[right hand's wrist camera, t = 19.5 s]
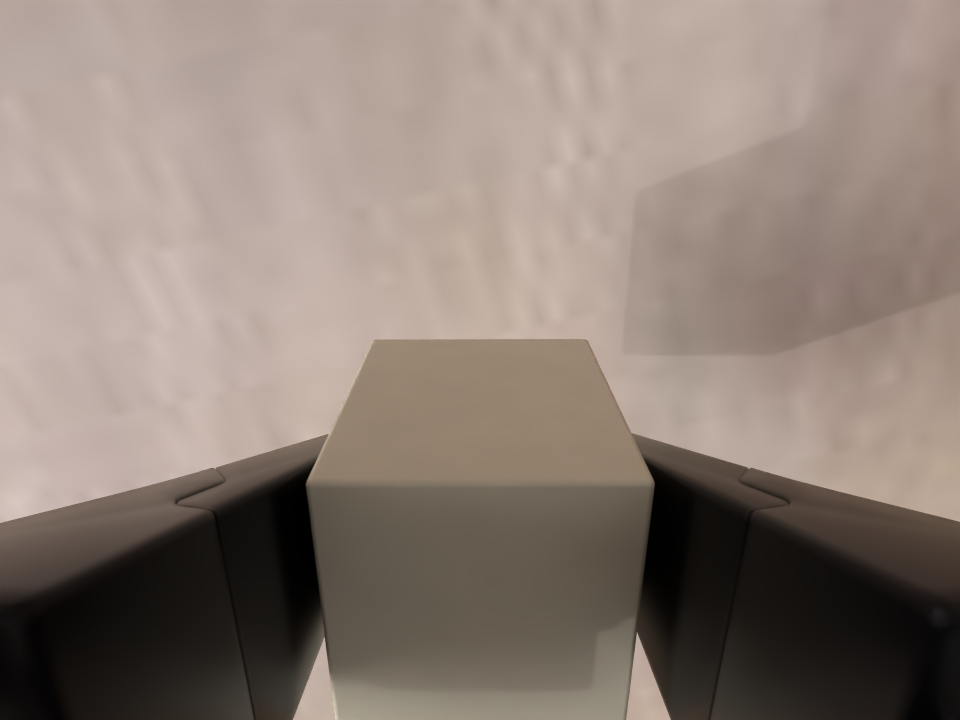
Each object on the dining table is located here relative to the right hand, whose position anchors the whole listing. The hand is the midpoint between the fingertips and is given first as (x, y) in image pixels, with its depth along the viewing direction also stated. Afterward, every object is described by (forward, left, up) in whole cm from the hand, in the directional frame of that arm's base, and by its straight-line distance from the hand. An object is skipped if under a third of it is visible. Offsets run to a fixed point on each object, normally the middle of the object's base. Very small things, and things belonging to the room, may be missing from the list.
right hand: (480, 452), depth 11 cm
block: (0, 0, -1) cm, 1 cm away
